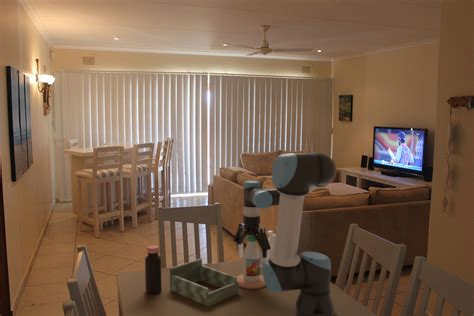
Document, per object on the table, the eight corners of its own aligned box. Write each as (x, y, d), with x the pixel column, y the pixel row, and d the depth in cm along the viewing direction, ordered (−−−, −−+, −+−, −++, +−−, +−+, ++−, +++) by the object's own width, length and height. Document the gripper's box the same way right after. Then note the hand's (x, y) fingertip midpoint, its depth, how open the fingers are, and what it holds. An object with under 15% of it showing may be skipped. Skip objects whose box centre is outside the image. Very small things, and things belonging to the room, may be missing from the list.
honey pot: (258, 269, 225) (258, 234, 224) (264, 261, 238) (264, 227, 236) (283, 272, 222) (284, 236, 220) (288, 263, 234) (289, 229, 232)
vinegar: (148, 296, 193) (148, 250, 191) (143, 290, 199) (142, 246, 196) (163, 292, 196) (163, 247, 194) (158, 287, 202) (157, 243, 200)
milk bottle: (240, 280, 206) (240, 237, 204) (247, 275, 213) (247, 233, 211) (255, 283, 203) (255, 240, 201) (262, 278, 210) (263, 235, 207)
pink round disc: (274, 282, 209) (274, 279, 208) (253, 291, 198) (253, 288, 197) (249, 274, 219) (249, 271, 219) (228, 282, 208) (228, 279, 208)
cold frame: (238, 293, 196) (238, 270, 195) (208, 306, 183) (208, 282, 182) (200, 279, 212) (200, 258, 211) (170, 290, 199) (170, 268, 198)
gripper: (278, 218, 199) (278, 265, 201) (237, 209, 216) (237, 253, 218) (268, 221, 194) (267, 269, 196) (226, 212, 211) (226, 256, 213)
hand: (251, 260), depth 207 cm, fingers open, 13 cm apart
